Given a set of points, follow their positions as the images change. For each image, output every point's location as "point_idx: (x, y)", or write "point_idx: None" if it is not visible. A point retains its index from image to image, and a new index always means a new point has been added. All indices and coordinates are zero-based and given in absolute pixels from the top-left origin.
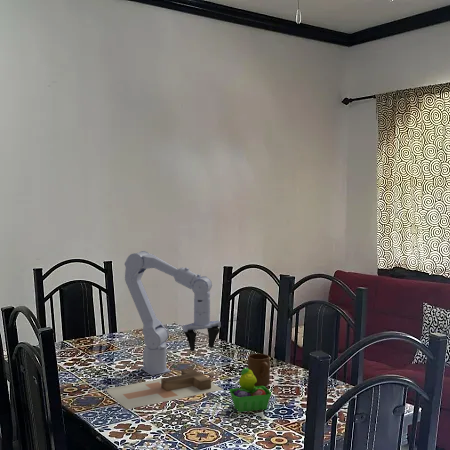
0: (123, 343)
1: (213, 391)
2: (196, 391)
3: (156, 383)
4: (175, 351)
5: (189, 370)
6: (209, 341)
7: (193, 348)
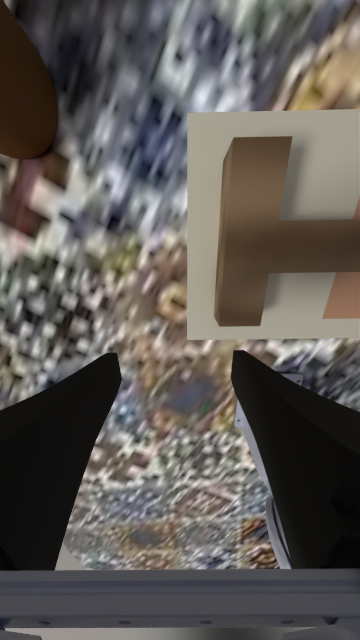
0: (219, 536)
1: (236, 112)
2: (290, 156)
3: (335, 310)
4: (152, 479)
5: (239, 307)
6: (106, 403)
7: (251, 355)
